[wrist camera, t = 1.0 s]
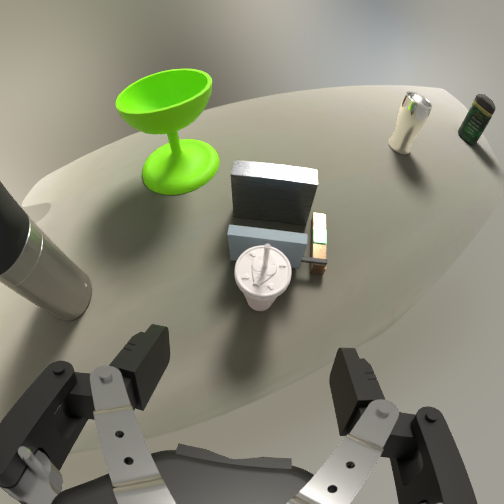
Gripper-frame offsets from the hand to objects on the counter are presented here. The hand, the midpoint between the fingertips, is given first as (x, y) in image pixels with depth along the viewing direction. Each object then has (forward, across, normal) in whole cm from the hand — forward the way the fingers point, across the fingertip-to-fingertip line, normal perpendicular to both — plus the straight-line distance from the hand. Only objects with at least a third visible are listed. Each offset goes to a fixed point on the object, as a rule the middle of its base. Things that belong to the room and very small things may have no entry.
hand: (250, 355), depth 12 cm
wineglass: (+43, +19, -9) cm, 48 cm away
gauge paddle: (+29, -2, +4) cm, 29 cm away
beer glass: (+55, -30, -20) cm, 66 cm away
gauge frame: (+33, -2, +1) cm, 33 cm away
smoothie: (+25, 0, +9) cm, 27 cm away
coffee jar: (+69, -66, -34) cm, 101 cm away
